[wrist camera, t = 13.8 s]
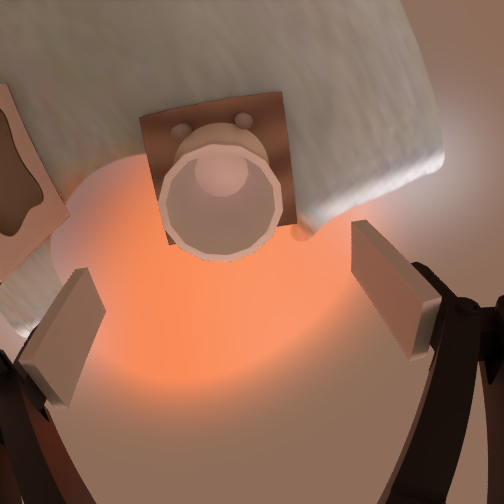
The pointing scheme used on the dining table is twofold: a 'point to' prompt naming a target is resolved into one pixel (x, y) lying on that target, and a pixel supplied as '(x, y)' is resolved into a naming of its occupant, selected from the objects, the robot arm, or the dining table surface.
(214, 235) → the foam cup
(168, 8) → the dining table surface
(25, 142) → the gable box
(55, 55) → the dining table surface
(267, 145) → the pin board
